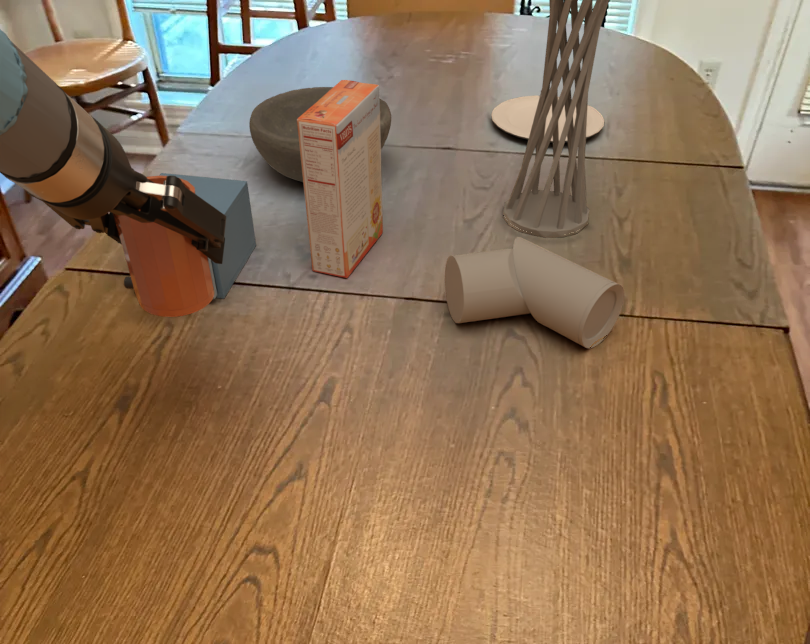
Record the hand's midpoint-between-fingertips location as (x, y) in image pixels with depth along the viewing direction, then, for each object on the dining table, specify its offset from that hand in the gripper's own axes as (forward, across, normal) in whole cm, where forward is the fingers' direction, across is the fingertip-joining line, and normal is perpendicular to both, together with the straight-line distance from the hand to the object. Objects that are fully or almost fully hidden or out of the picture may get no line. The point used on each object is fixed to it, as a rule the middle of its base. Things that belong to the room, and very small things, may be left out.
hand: (180, 246), depth 83 cm
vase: (+46, -38, -22) cm, 64 cm away
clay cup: (0, 0, +5) cm, 5 cm away
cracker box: (+34, -10, -10) cm, 37 cm away
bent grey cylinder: (+25, -38, -1) cm, 46 cm away
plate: (+71, -36, -47) cm, 93 cm away
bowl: (+52, 0, -28) cm, 59 cm away
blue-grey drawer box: (+29, +10, -5) cm, 31 cm away
